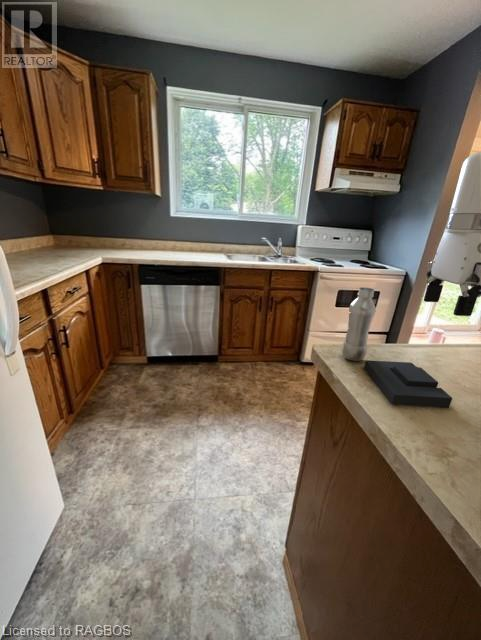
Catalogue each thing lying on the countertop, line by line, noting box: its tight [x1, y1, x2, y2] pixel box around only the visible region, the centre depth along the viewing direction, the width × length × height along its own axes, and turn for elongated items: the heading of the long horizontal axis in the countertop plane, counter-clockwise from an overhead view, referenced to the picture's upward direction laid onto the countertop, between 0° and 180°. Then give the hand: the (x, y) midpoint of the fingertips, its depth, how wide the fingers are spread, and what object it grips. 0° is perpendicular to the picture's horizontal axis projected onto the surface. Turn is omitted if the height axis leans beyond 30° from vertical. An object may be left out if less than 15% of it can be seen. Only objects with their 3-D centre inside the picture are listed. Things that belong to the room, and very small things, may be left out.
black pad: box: [392, 366, 439, 388], centre depth 63 cm, size 7×7×4 cm
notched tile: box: [363, 359, 453, 409], centre depth 64 cm, size 12×15×2 cm
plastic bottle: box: [341, 287, 377, 362], centre depth 73 cm, size 6×7×20 cm
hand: (445, 308), depth 59 cm, fingers open, 9 cm apart
